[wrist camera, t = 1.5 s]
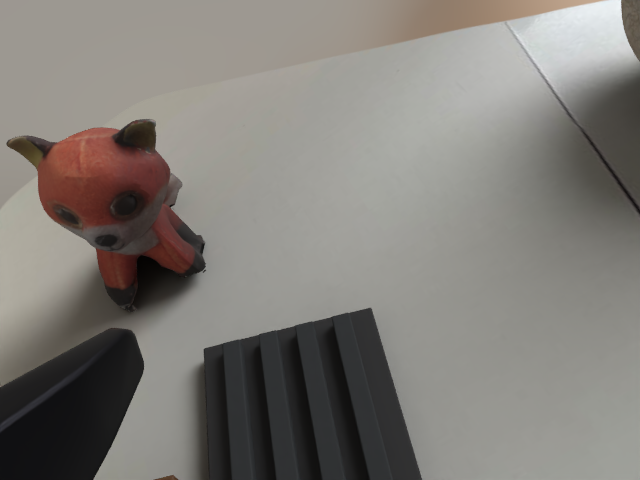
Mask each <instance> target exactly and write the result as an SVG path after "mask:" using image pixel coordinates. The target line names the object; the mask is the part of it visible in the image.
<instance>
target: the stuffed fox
mask: <svg viewBox="0 0 640 480" xmlns="http://www.w3.org/2000/svg"><path fill="white" fill-rule="evenodd" d="M155 126H156V122H155V120H152V119H142V120H135V121H133V122H131V123H129V124H128V125H127V126H125V127H124V128H123V129H121V130H117V129H112V128H92V129H88V130H85V131H82V132H80V133H76V134H74V135H72V136H70V137H68V138H66V139H65V140H62V141H60V142H58V143H55V142H48V141H46V140H44V139H41V138H37V137H33V136H19V137H15V138H12V139H10V140H9V141H8V142H7V146H8V147H10V148H12V149H14V150H15V151H17V152H19V153H20V154H21V155H23V156H24V157H25V158H26V159H28V160H29V161H30V162H31V163H32V164H33V165H34V166H35V167H36V169H37V171H38V191H39V197H40V201H41V203H42V206H43V208H44V210H45V211H46V213H47V214H48V215H49V217H50V218H52V219H53V220H54V221H55V222H57V223H58V224H60V225H61V226H63V227H64V228H66V229H68V230H69V231H71V232H73V233H74V234H76V235H78V236H80V237H82V238H83V239H85V240H87V242H88V243H89V244H90V245H92V246H93V247H95V248H96V252H97V259H98V265H99V270H100V273H101V275H102V277H103V280H104V283H105V287H106V290H107V293H108V295H109V296H110V298H111V299H112V300H113V301H114V302H115V303H116V304H117V305H119V306H120V307H123V309H124V308H125V309H127V310H129V311H130V312H133V311H135V310H136V307H135V306H133V305H132V303H133V299H134V297H135V295H136V292H137V288H138V280H137V267H136V264H137V258H138V257H139V256H141V255H144V256H148V257H150V258H152V259H154V260H156V261H157V262H159V264H160V266H162V267H164V268H169V269H171V270H174V271H175V272H177V274H178V275H179V277H184V278H185V276H189V275H191V274H193V273H197V272H200V271H202V270H203V269H204V268H205V267H206V266H205V264H206V263H205V262H204V259H203V256H202V253H203V249H204V245H205V243H204V241H203V240H202V239H203V238H202V237H201V235H196V234H195V233H194V232H193V231H192V230H191V229H190V228H189V227H188V226H187V225H186V224H185V223H184V222H183V221H182V220H181V219H180V218H179V217H178V216H177V215H176V214H175V213H174V212H173V211H172V210H171V208H170V207H172V206H173V205H175V202H176V199H177V195H178V192H179V189H180V188H181V187H182V182H181V181H180V180H179V179H178V178H177V177H176V176H175V175H173V174H172V173H171V174H170V168H169V166H168V164H167V163H166V162H165V160H164V159H163V158H162V157H161V156H160V154H159V153H158V152H157V151H156V150H155V144H156V131H155ZM203 243H204V244H203ZM205 271H206V269H205V270H204V271H203V273H204V272H205Z"/></svg>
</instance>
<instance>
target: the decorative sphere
mask: <svg viewBox="0 0 640 480" xmlns="http://www.w3.org/2000/svg"><path fill="white" fill-rule="evenodd" d="M621 8H622V20H623V25H624V30H625V33H626V36H627V39H628V42H629V44H630V46H631V48H632V50H633V52H634V54H635V55H636V57H637V58H638V60H639V61H640V0H621Z"/></svg>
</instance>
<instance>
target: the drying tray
mask: <svg viewBox="0 0 640 480" xmlns="http://www.w3.org/2000/svg"><path fill="white" fill-rule="evenodd" d="M155 480H178V479H177V478H176V477H175V476H174V475H171V476H167V477H163V478H159V479H155Z"/></svg>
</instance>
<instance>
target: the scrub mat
mask: <svg viewBox="0 0 640 480" xmlns="http://www.w3.org/2000/svg"><path fill="white" fill-rule="evenodd" d="M204 364H205V387H206V411H207V435H208V459H209V480H422V478H421V475H420V471H419V468H418V465H417V461H416V458H415V454H414V451H413V448H412V444H411V441H410V437H409V434H408V431H407V427H406V424H405V421H404V417H403V414H402V410H401V407H400V404H399V400H398V397H397V393H396V390H395V387H394V383H393V380H392V377H391V373H390V370H389V366H388V363H387V360H386V356H385V353H384V350H383V346H382V343H381V339H380V336H379V333H378V329H377V326H376V322H375V319H374V316H373V312H372V309H371V308H368V309H364V310H359V311H355V312H351V313H345V314H341V315H337V316H333V317H331V318H327V319H323V320H319V321H315V322H308V323H304V324H299V325H296V326H294V327H290V328H286V329H282V330H278V331H276V330H275V331H271V332H267V333H263V334H259V335H257V336H253V337H249V338H245V339H241V340H235V341H231V342H227V343H223V344H221V345H217V346H213V347H208V348H205V349H204Z"/></svg>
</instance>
